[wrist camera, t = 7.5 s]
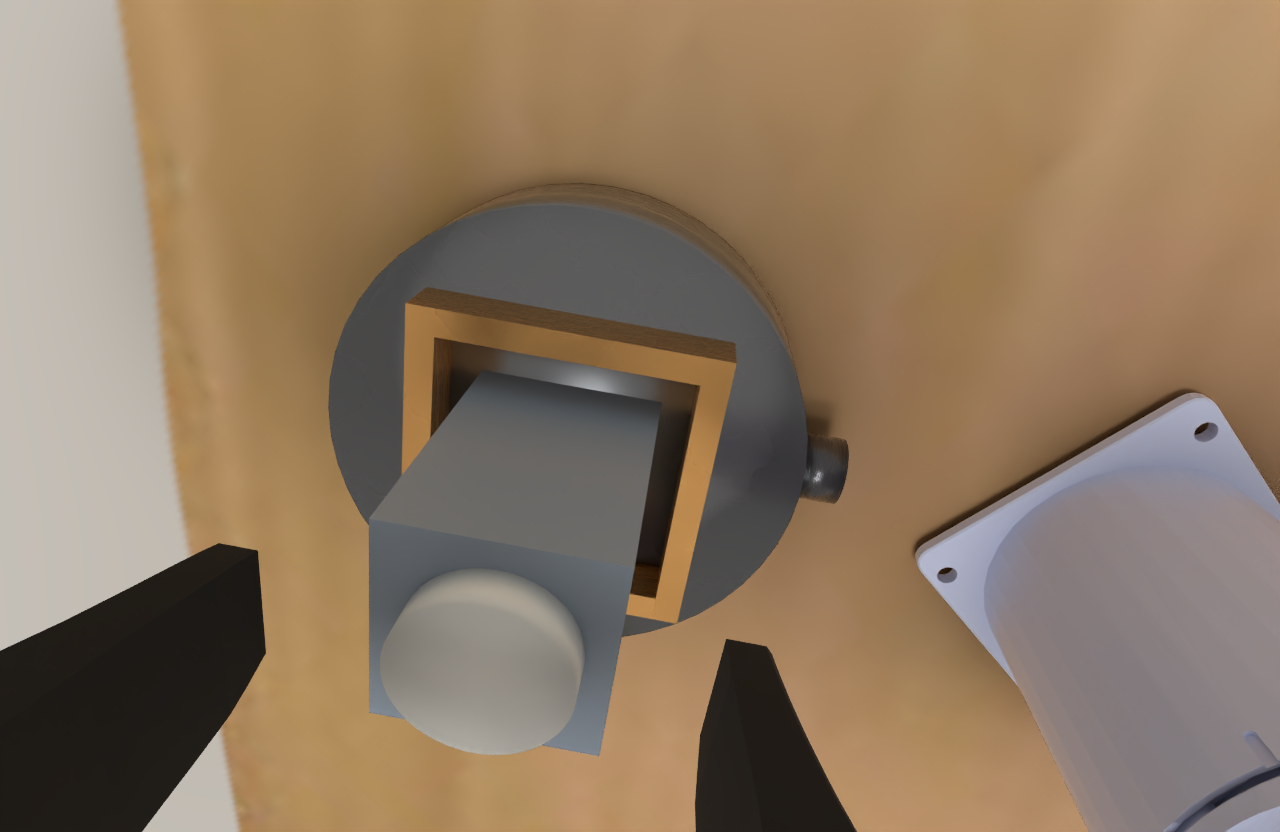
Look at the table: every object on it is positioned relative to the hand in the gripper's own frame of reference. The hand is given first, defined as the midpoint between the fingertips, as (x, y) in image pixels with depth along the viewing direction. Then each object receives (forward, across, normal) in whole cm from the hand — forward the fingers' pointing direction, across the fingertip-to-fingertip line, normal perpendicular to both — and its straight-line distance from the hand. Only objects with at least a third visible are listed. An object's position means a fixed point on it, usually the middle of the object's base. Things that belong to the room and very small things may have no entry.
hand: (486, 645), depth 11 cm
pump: (+6, 0, 0) cm, 6 cm away
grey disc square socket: (+9, 0, 0) cm, 9 cm away
